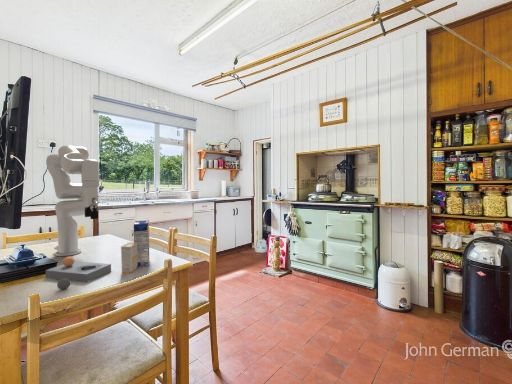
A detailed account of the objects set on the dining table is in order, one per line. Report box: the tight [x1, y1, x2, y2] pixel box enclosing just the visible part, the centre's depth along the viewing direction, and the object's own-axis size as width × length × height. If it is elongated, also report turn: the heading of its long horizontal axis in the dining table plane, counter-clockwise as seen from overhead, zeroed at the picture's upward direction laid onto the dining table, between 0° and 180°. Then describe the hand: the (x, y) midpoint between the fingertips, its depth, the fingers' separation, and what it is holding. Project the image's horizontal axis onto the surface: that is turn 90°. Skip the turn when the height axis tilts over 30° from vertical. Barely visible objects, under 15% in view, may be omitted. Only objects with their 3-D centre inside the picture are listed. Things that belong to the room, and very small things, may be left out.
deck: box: [45, 260, 112, 283], centre depth 123 cm, size 22×14×4 cm, turn 78°
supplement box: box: [120, 241, 139, 274], centre depth 129 cm, size 8×5×13 cm, turn 5°
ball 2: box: [56, 278, 72, 290], centre depth 107 cm, size 4×4×4 cm
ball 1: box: [62, 256, 75, 266], centre depth 124 cm, size 4×4×4 cm
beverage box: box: [133, 220, 150, 268], centre depth 139 cm, size 7×11×22 cm, turn 21°
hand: (91, 217), depth 134 cm, fingers open, 9 cm apart
